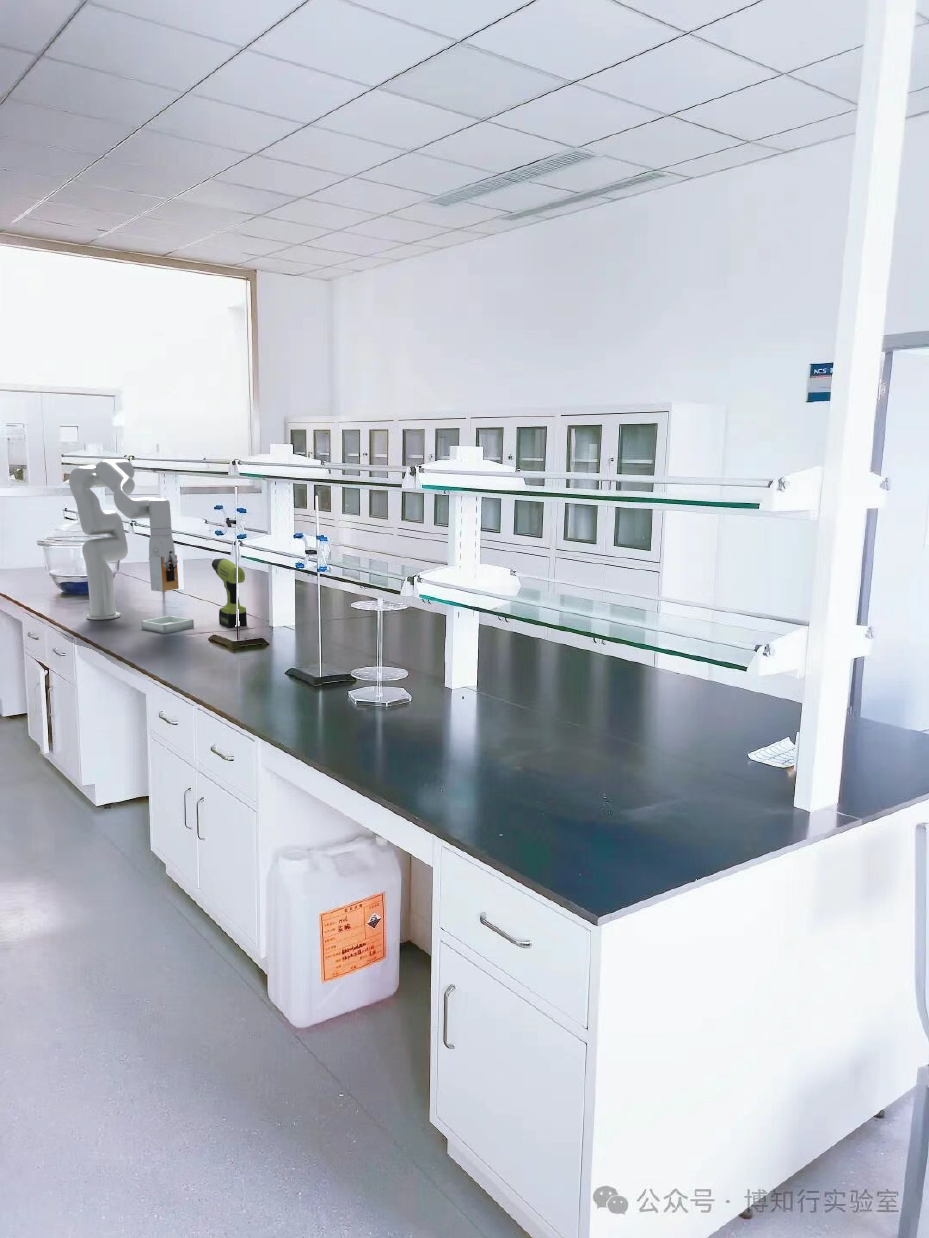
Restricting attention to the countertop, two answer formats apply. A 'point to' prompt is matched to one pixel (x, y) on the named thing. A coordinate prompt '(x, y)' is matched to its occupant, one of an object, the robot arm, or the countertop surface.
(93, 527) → the robot arm
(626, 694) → the countertop surface
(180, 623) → the tray
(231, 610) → the cordless drill
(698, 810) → the countertop surface
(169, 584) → the small box
